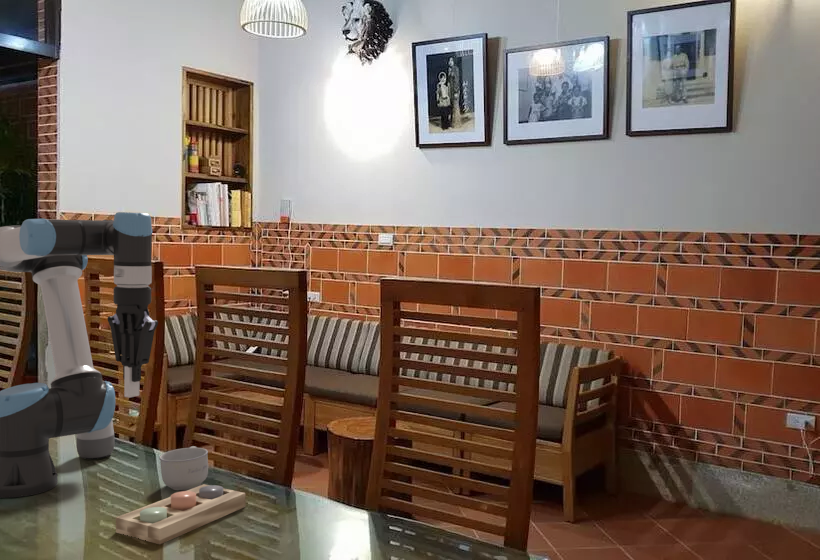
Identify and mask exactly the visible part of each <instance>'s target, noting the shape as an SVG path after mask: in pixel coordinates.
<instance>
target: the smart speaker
mask: <svg viewBox="0 0 820 560" xmlns="http://www.w3.org/2000/svg"><path fill="white" fill-rule="evenodd" d="M75 442H76V451H77V452H76V453H77V455H78V456H79V457H80V458H82V460H83V459H84V460H88V461H89V460H101V459H105V458H107V457H109V456H111V455H112V453H113V452H114V448H115V445H116V444H115V431H114V423H113V419H112V420H111V422H110V424H109V425H108V426H107V427H106V428H104V429H101V430H97V431H92V432H91V433H87V432H86V433H80V434H76V441H75Z"/></svg>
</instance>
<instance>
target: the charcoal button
mask: <svg viewBox="0 0 820 560" xmlns="http://www.w3.org/2000/svg"><path fill="white" fill-rule="evenodd" d="M223 488H224V487H223V486H221V485H215V484H214V485H211V484H210V486H205V487H202V488H200V489H199V497H202V498H207V499H211V500H212V499H215V498H217V497H220V496H222V495H223Z"/></svg>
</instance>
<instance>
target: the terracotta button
mask: <svg viewBox="0 0 820 560" xmlns="http://www.w3.org/2000/svg"><path fill="white" fill-rule="evenodd" d="M170 497H171V508H173V509H177V510H181V511H185V510H188V509H190V508H192V507H195V506H196V493H195V492H192V491H187V490H180V491H176V492H174V493H172V494H170Z"/></svg>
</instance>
